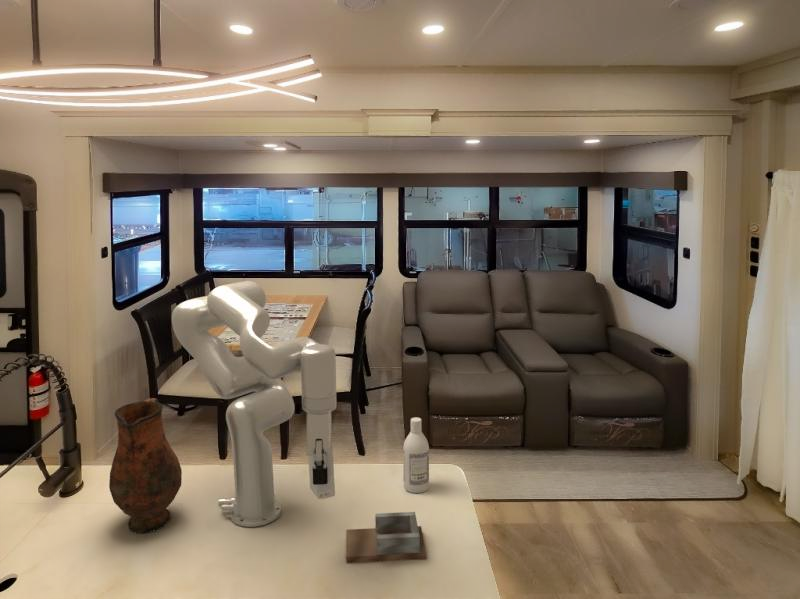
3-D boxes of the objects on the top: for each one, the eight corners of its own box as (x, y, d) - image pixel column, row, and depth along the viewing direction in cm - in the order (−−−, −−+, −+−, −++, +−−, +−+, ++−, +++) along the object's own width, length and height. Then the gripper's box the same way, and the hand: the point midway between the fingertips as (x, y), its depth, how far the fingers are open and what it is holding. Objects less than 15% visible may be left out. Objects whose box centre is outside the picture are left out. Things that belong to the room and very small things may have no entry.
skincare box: (335, 496, 143) (334, 446, 141) (316, 500, 142) (315, 450, 139) (326, 483, 149) (325, 435, 146) (308, 488, 147) (306, 439, 144)
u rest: (346, 563, 143) (345, 540, 142) (346, 535, 154) (345, 514, 153) (426, 558, 144) (426, 536, 143) (421, 531, 155) (421, 510, 154)
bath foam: (434, 488, 176) (434, 419, 171) (414, 496, 171) (414, 426, 167) (417, 479, 181) (417, 412, 177) (398, 486, 177) (397, 418, 172)
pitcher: (102, 542, 151) (89, 423, 145) (133, 496, 172) (122, 390, 166) (174, 539, 152) (163, 421, 146) (196, 494, 173) (188, 389, 167)
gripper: (304, 387, 149) (306, 458, 152) (298, 417, 132) (301, 495, 136) (337, 386, 149) (338, 457, 153) (335, 416, 132) (337, 494, 136)
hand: (321, 474), depth 144 cm, fingers closed on skincare box, 7 cm apart
